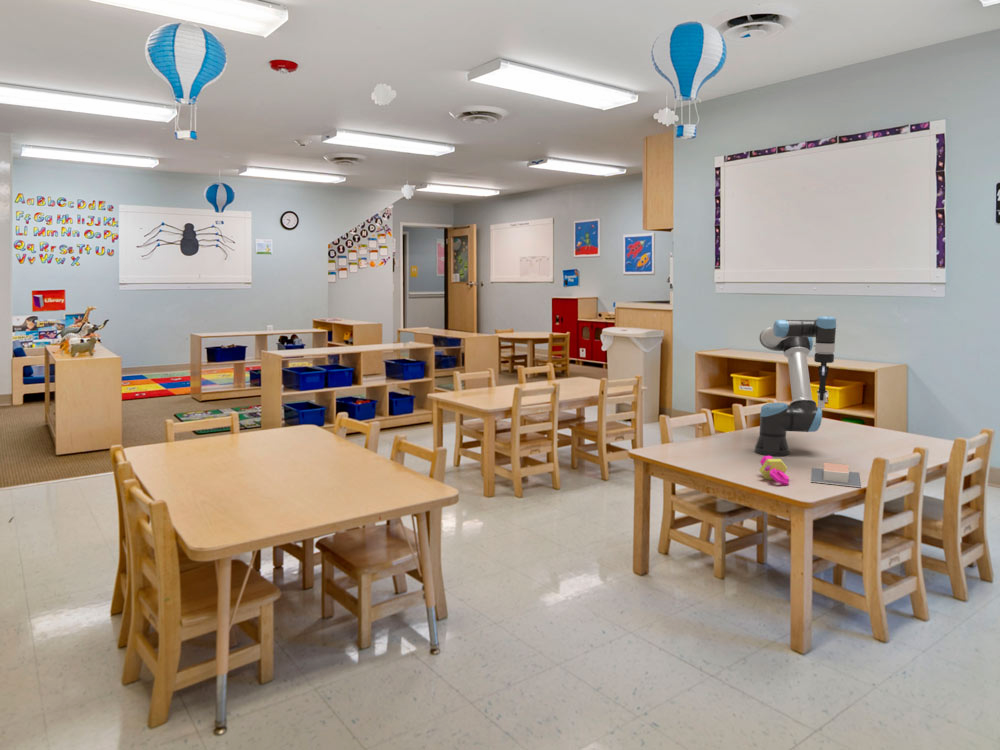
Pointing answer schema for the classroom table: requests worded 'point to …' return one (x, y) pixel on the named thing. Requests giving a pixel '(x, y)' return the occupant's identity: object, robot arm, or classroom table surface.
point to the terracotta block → (836, 472)
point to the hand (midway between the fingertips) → (821, 407)
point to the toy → (774, 470)
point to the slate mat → (818, 477)
